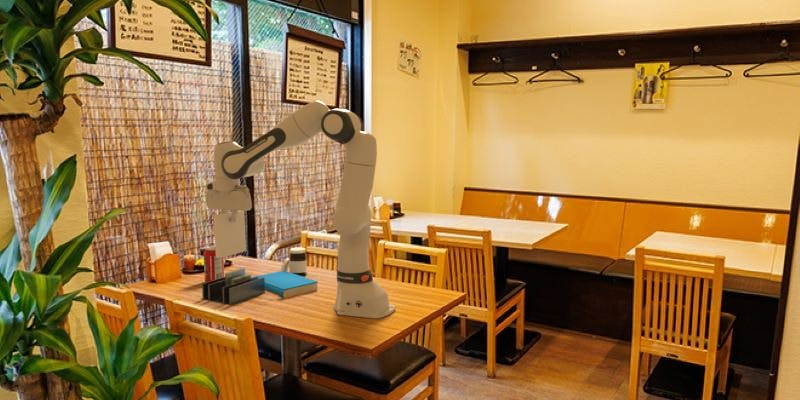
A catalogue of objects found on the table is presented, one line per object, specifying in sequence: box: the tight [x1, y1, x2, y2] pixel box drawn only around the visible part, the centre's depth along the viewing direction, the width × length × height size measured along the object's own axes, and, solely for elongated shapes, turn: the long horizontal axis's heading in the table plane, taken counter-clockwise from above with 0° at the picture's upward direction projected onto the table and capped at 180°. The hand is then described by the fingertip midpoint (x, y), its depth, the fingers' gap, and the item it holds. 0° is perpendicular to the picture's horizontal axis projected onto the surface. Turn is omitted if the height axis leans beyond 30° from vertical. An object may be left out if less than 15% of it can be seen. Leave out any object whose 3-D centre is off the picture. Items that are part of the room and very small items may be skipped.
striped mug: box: [280, 246, 308, 277], centre depth 246 cm, size 12×11×12 cm
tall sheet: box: [213, 211, 247, 258], centre depth 206 cm, size 2×14×16 cm, turn 152°
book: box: [251, 270, 319, 299], centre depth 224 cm, size 17×4×25 cm
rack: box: [201, 267, 266, 306], centre depth 208 cm, size 16×18×10 cm
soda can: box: [203, 246, 225, 283], centre depth 230 cm, size 8×8×15 cm
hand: (229, 221), depth 206 cm, fingers closed on tall sheet, 2 cm apart
